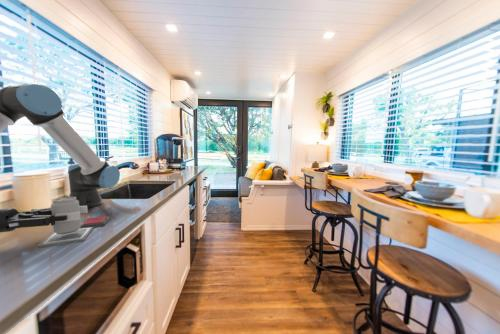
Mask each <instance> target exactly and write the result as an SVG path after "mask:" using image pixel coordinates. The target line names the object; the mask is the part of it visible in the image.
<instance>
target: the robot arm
mask: <svg viewBox="0 0 500 334" xmlns="http://www.w3.org/2000/svg"><path fill="white" fill-rule="evenodd" d="M62 103H63V100H62V98H61V97H60V95H59V94H58V93H57V92H56V91H55V90H54V89H52V88H51V87H49V86H47V85H44V84H40V83H33V82H32V83H30V82H29V83H24V84H18V85H8V86H5V87H3V88H0V134H1V133H3V131H4V130H5V129H6V128H7V127H8V126H13V125H14V124H16V122H17V121H18V120H20V119H22V118H24V117H25V118H26V119H27V120H28V121H29V122H30V123H31V124H32V125H33V126H35V127H36V126H37V127H41V128H42V129H43V130H44V131H45V132H46V133H47V134H48V135H49V136H50V138H52V139H53V141H55V142H56V143H57V144H58V146H59V147H61V149H62V150H63V151H65V153H66V154H67V155H68V156H69V157H70V158H71V159H72V160H73V161H74V162H75V163H72V164H69V165H68V167H67V175H68V181H69V192H70V193H69V196H68V197H76V200H78V201H79V208H80V212H70V213H60V214H55V216H54V215H52V211H51V207H46V208H45V207H44V208H37V209H36V208H35V209H34V208H32V209H30V210H26V211H22V212H21V213H20V211H18V209H16V208H13V207H9V208H0V233H8V232H13V231H14V230H16V229H20V228H21V229H22V228H33V227H34V228H35V227H47V226H52V227H53V225H55V221H56V222H64V221H73V220H80V219H81V215H82V214H88V213H89V212H88V211H89V209H88V208H94V207H97V206H100V205H102V204H103V198H102V197H101V195H100V193H99V192H100V191H98V189H111V188H113V187H115V186H116V185H117V184H118V183H119V181H120V177H121V172H120V169H119V168H118V167H117V166H115V165H110V164H109V162H108V161H107V160H106V159H104V158H103V157H102V158H101V157H99V156H98V155H97V154H96V152H95V151H93V149H92V148H91V147H90V146H89V144H88V143H87V142H86V141H85V140H84V139H83V137H82V136H81V135H80V134H79V133H78V131H77V130H76V129H75V128H74V126H73V125H72V124H71V123H70V122H69V121H68V120H67V119H66V117H65V112H66V111H65V110H64V108H63V104H62ZM81 220H82V219H81Z"/></svg>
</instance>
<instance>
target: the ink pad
mask: <svg viewBox="0 0 500 334" xmlns="http://www.w3.org/2000/svg"><path fill="white" fill-rule="evenodd" d="M109 220H110V215H107V216H106V215H105V216H96V217H95V216H94V217H89V218H86V220H84V221H83V222H82V223H81V227H80V228H88V227H94V228H96V227H104V226H106V224H107V223H108V221H109ZM80 228H79V229H80Z"/></svg>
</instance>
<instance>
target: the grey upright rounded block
mask: <svg viewBox="0 0 500 334" xmlns="http://www.w3.org/2000/svg"><path fill="white" fill-rule="evenodd" d="M52 201H53V203H51V205H50V208H51V211H52V215H54V216H55V214H60V213H70V212H80V208H79V201H78V200H76V197H69V196H65V197H60V198H55V199H53V200H52ZM81 220H82V219H80V220H73V221H64V222H56V221H55V225H53V226H52V229H53V233H57V234H60V235H62V234H69V233H73V232H75V231H77V230H78V229H80V227H81V225H82V223H81V222H82V221H81Z"/></svg>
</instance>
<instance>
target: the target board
mask: <svg viewBox="0 0 500 334" xmlns="http://www.w3.org/2000/svg"><path fill="white" fill-rule="evenodd" d="M94 229H95V227H88V228H79V229H78V230H77V231H75V232H73V233H69V234H62V235H60V234H57V233H54V232H53V233H51V234H50V235H49V236H48V237H47V238H45V239H44V240H43V241H41V243H39V245H38V248H43V247H49V246H50V247H51V246H58V245H63V244H72V243H78V242H84V241H86V238H88V236H90V234H91V233H92V231H93V230H94Z"/></svg>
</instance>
